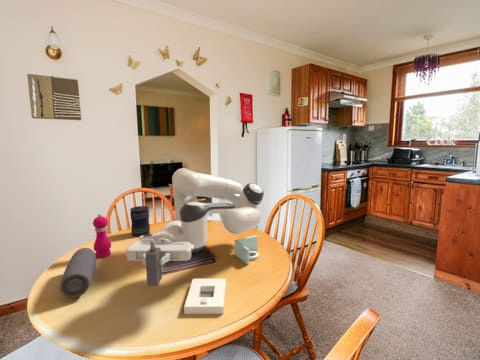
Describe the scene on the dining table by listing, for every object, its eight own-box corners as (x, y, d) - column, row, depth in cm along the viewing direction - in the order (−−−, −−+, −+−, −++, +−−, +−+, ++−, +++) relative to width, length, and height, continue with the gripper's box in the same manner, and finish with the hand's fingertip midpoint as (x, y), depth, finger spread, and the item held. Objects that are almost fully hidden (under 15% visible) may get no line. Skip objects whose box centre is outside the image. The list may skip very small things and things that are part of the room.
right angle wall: (247, 266, 110) (247, 249, 108) (234, 255, 120) (234, 240, 119) (270, 259, 115) (270, 244, 114) (256, 250, 126) (256, 235, 124)
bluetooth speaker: (72, 271, 103) (69, 248, 102) (98, 267, 107) (96, 244, 106) (59, 304, 83) (56, 275, 81) (92, 297, 87) (89, 269, 85)
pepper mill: (98, 252, 122) (95, 211, 118) (114, 251, 122) (111, 211, 119) (91, 259, 114) (87, 216, 111) (108, 258, 115) (104, 215, 112)
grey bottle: (152, 278, 79) (150, 238, 77) (161, 277, 79) (160, 238, 77) (147, 286, 75) (144, 244, 72) (157, 286, 75) (155, 244, 73)
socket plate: (193, 284, 94) (192, 277, 94) (225, 284, 94) (225, 277, 94) (184, 314, 78) (184, 304, 78) (223, 313, 78) (223, 304, 78)
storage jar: (146, 237, 141) (144, 210, 138) (128, 236, 141) (126, 210, 138) (152, 230, 150) (151, 206, 148) (136, 230, 151) (134, 206, 148)
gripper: (195, 252, 89) (188, 272, 76) (137, 252, 89) (119, 273, 75) (195, 235, 88) (187, 252, 75) (135, 235, 88) (117, 253, 74)
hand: (152, 263), depth 75 cm, fingers closed on grey bottle, 3 cm apart
